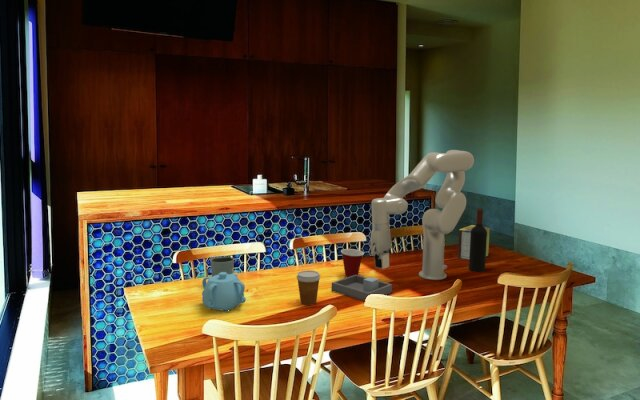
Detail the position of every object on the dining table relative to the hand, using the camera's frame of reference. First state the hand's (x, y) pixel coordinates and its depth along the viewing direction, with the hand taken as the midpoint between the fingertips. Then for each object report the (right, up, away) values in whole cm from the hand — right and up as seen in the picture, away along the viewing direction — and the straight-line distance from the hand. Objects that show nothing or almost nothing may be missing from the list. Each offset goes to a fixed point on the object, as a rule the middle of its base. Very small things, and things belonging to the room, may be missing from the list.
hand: (382, 265), depth 237 cm
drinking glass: (-71, -8, -5) cm, 71 cm away
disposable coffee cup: (-33, -12, -26) cm, 43 cm away
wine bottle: (+48, -5, +20) cm, 52 cm away
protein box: (+53, -1, +43) cm, 69 cm away
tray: (-10, -10, -13) cm, 19 cm away
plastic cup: (-13, -6, +9) cm, 17 cm away
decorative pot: (-66, -12, -30) cm, 73 cm away
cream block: (0, -1, 0) cm, 1 cm away
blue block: (-7, -10, -16) cm, 20 cm away
